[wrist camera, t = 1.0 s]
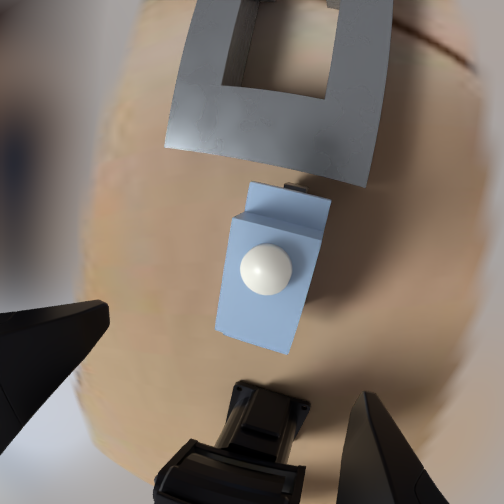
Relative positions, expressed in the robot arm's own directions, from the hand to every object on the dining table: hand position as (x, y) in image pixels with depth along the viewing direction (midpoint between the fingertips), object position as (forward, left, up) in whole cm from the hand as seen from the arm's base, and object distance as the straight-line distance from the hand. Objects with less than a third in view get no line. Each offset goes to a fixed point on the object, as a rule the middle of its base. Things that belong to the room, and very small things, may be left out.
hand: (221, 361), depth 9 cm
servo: (0, 0, -11) cm, 11 cm away
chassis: (+13, +2, -11) cm, 17 cm away
